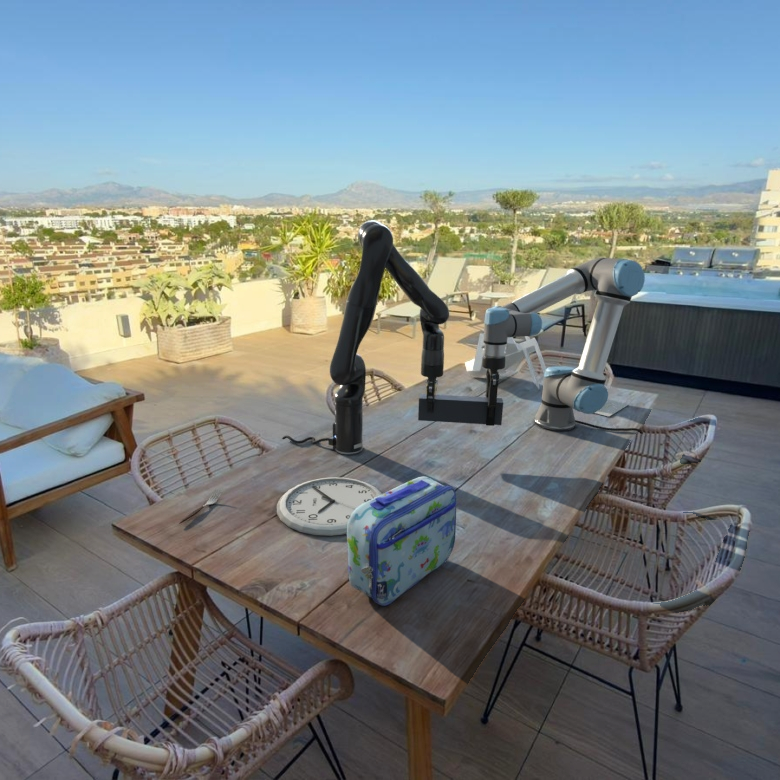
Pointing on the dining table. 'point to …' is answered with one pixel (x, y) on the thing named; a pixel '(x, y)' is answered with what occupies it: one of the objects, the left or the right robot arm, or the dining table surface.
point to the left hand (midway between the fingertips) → (430, 409)
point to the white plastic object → (508, 357)
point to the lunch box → (400, 538)
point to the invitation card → (610, 408)
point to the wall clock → (324, 504)
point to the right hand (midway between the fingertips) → (489, 422)
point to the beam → (458, 409)
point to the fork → (209, 502)
